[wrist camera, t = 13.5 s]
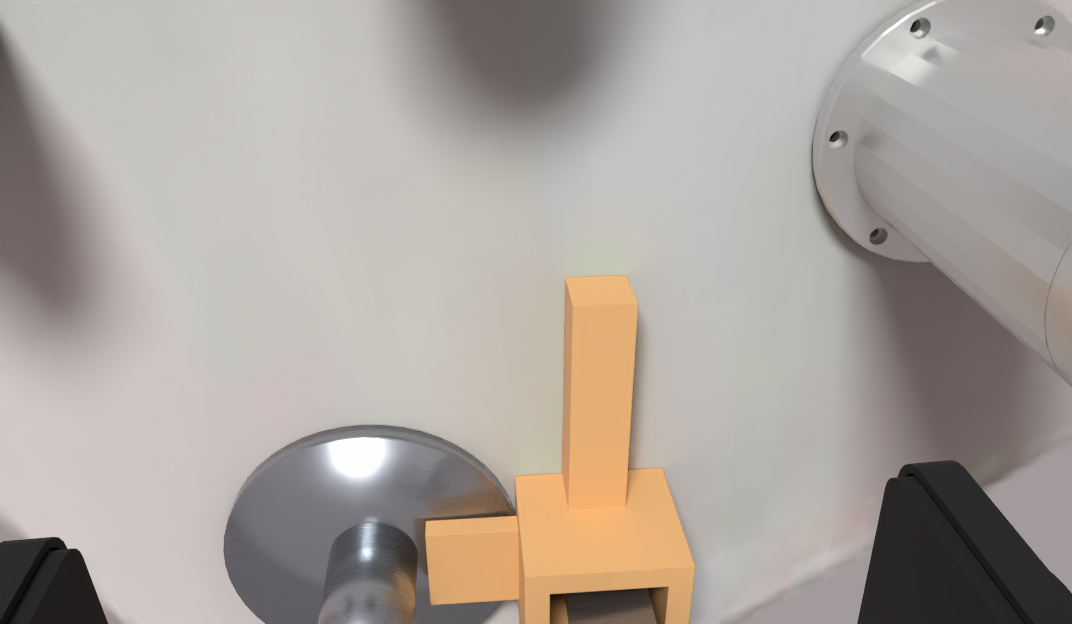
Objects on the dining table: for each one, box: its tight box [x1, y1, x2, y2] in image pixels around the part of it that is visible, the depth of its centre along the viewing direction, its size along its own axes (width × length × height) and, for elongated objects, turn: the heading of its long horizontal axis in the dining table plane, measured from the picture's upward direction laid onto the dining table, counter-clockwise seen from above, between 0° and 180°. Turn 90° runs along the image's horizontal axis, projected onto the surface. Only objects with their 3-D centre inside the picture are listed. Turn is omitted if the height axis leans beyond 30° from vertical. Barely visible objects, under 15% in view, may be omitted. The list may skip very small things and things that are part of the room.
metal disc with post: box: [224, 425, 515, 624], centre depth 45 cm, size 16×16×10 cm
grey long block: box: [564, 588, 657, 624], centre depth 46 cm, size 4×4×10 cm
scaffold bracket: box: [425, 275, 695, 624], centre depth 44 cm, size 13×20×8 cm, turn 0°
